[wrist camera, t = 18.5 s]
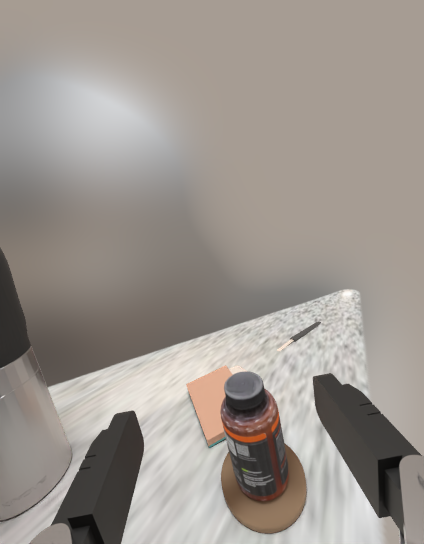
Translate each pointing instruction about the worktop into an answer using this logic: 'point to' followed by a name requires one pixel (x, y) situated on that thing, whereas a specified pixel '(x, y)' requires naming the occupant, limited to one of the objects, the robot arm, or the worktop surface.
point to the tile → (210, 403)
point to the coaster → (266, 513)
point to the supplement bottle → (254, 437)
